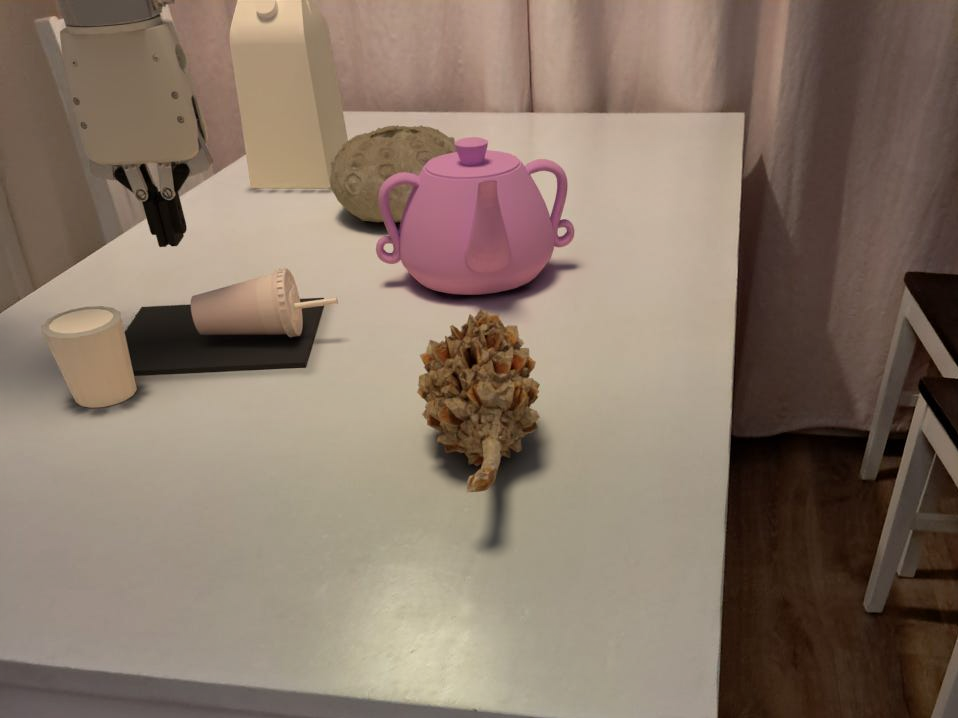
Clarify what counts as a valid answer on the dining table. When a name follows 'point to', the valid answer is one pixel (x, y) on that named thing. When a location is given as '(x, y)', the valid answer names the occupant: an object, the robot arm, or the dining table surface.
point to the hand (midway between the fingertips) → (171, 241)
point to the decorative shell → (383, 167)
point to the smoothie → (253, 307)
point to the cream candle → (92, 355)
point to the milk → (286, 92)
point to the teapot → (474, 221)
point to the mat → (211, 344)
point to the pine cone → (480, 393)
